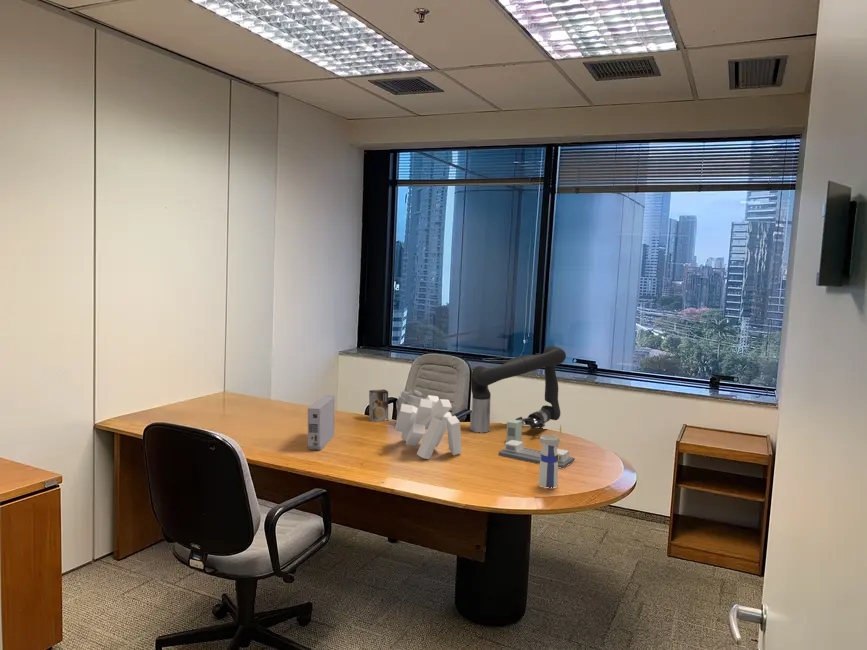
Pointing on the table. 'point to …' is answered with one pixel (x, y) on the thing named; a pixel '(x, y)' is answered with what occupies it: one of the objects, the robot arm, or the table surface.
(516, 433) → the tall block
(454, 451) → the white angular blocks
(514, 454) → the grey board
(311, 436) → the game console
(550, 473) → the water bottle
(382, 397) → the coffee box
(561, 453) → the rectangular blocks
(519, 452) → the mounting plate
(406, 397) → the twin engine backpack
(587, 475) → the table surface
